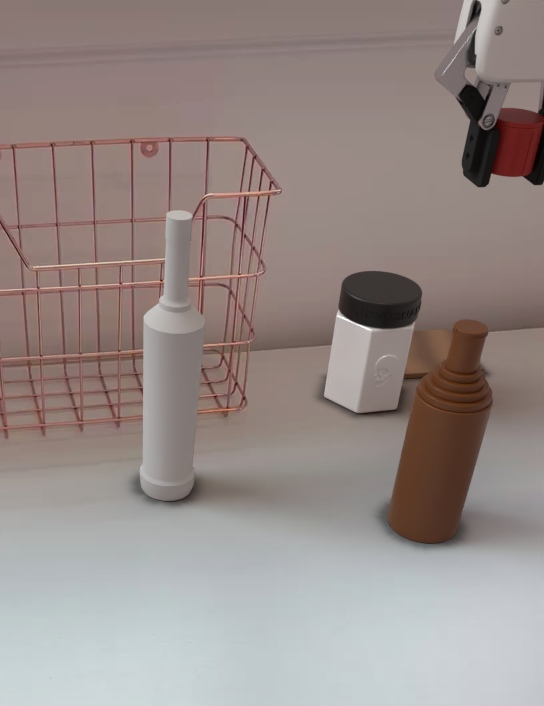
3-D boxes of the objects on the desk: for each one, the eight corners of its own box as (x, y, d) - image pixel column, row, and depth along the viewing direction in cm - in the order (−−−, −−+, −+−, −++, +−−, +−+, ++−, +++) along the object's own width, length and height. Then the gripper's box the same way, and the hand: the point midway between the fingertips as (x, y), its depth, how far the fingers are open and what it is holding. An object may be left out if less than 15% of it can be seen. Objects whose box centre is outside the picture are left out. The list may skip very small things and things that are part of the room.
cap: (541, 170, 77) (555, 118, 75) (511, 180, 75) (524, 127, 73) (498, 156, 79) (510, 104, 77) (468, 165, 77) (479, 113, 75)
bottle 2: (440, 499, 97) (491, 306, 84) (468, 540, 92) (526, 342, 80) (377, 505, 96) (418, 310, 83) (402, 546, 91) (450, 347, 78)
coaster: (447, 333, 123) (448, 328, 123) (483, 373, 116) (484, 368, 116) (369, 337, 121) (370, 333, 121) (400, 379, 114) (401, 374, 114)
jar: (337, 417, 107) (356, 307, 99) (310, 379, 113) (326, 272, 105) (416, 409, 109) (440, 301, 101) (385, 373, 115) (406, 267, 107)
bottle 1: (142, 468, 98) (150, 200, 81) (196, 474, 98) (215, 206, 81) (135, 499, 94) (141, 224, 78) (191, 505, 94) (210, 230, 77)
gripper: (658, -125, 70) (576, 160, 82) (429, -131, 66) (380, 167, 79) (724, -108, 64) (626, 194, 77) (479, -114, 61) (418, 202, 73)
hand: (502, 177), depth 78 cm, fingers closed on cap, 3 cm apart
